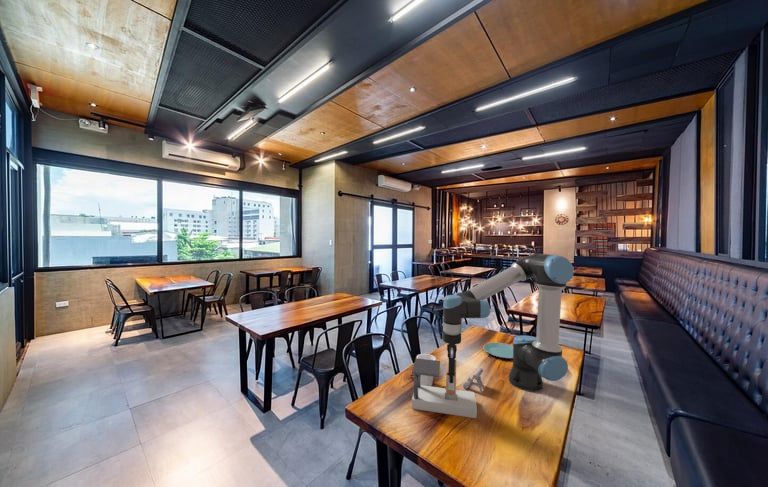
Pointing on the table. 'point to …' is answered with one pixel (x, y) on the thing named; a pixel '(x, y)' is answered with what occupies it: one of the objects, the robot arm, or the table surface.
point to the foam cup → (424, 379)
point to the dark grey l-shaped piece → (424, 372)
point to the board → (445, 401)
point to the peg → (450, 392)
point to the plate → (499, 350)
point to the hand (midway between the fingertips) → (451, 386)
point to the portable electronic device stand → (478, 379)
